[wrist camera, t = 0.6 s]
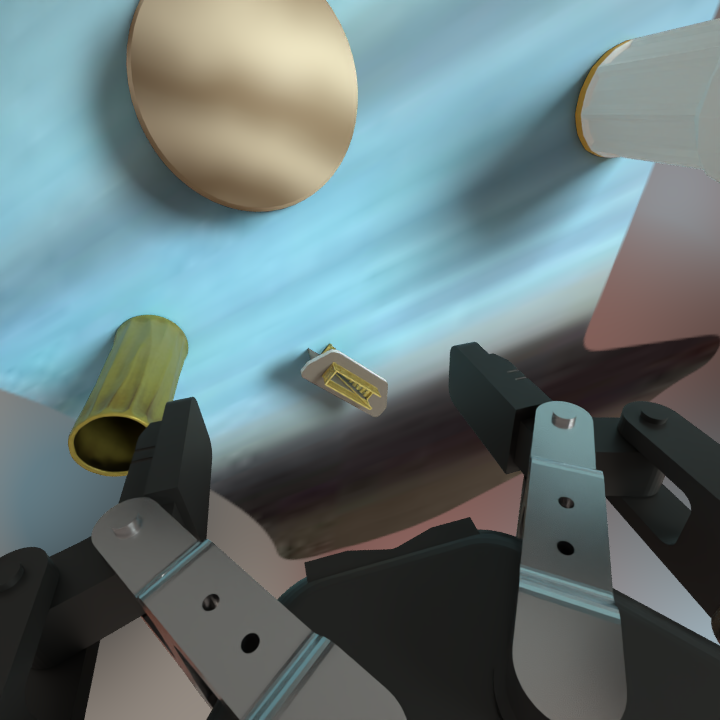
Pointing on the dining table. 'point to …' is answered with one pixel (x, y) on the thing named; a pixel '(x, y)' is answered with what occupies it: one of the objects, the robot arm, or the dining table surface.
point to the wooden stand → (244, 95)
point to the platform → (347, 380)
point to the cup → (656, 100)
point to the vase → (128, 394)
